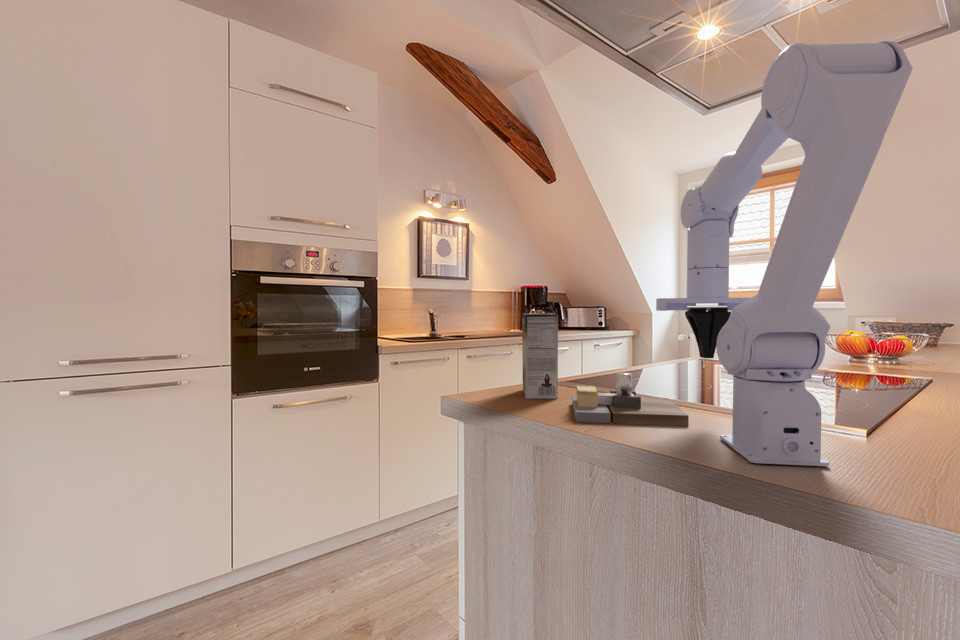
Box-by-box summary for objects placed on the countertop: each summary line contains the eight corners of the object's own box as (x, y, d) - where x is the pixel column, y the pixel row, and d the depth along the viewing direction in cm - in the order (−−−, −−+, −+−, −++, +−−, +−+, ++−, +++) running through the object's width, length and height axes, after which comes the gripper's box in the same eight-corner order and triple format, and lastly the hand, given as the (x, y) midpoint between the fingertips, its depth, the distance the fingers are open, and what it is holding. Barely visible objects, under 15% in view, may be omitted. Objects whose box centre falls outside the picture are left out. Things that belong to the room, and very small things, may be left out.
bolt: (635, 405, 70) (635, 375, 70) (577, 404, 71) (577, 374, 71) (632, 402, 72) (632, 372, 72) (576, 401, 74) (576, 371, 74)
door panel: (688, 425, 64) (688, 403, 64) (613, 423, 66) (613, 401, 66) (667, 406, 76) (667, 387, 76) (603, 404, 78) (603, 386, 78)
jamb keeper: (610, 423, 66) (610, 396, 66) (576, 421, 67) (576, 395, 67) (601, 404, 78) (601, 382, 78) (572, 404, 79) (572, 381, 79)
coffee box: (521, 389, 92) (521, 312, 92) (552, 389, 92) (552, 312, 91) (525, 399, 83) (524, 313, 82) (559, 399, 83) (559, 313, 82)
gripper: (747, 270, 71) (746, 355, 71) (652, 271, 73) (651, 354, 73) (768, 266, 64) (767, 360, 64) (662, 268, 66) (662, 359, 66)
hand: (706, 357), depth 68 cm, fingers closed
